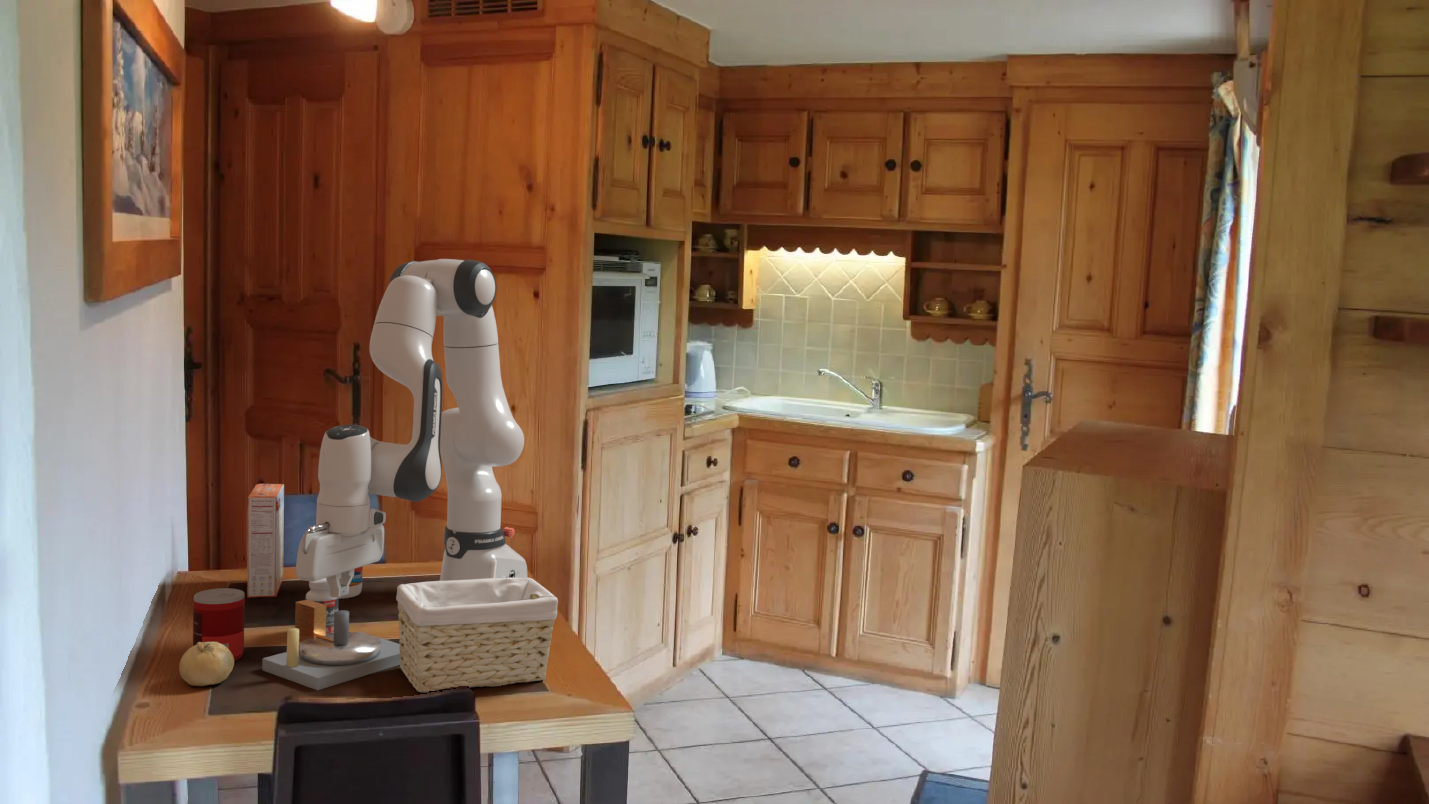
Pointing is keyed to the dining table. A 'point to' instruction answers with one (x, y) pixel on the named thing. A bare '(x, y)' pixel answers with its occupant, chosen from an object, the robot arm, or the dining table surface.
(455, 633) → the storage basket
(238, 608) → the canned food
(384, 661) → the post board
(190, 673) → the onion
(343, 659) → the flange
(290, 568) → the dining table surface
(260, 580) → the cracker box
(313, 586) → the pill bottle
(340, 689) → the dining table surface
